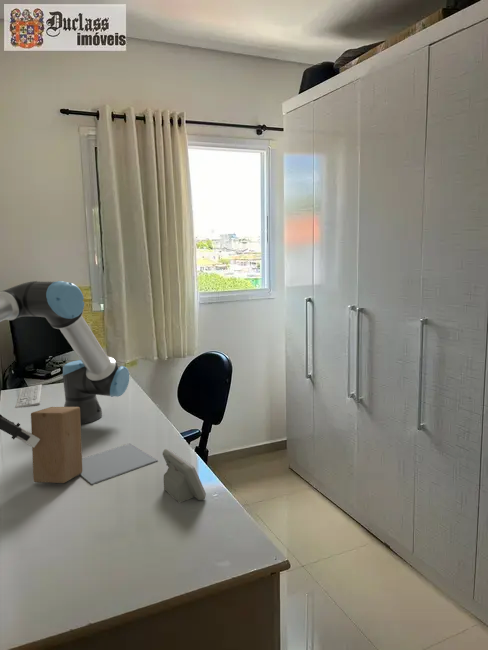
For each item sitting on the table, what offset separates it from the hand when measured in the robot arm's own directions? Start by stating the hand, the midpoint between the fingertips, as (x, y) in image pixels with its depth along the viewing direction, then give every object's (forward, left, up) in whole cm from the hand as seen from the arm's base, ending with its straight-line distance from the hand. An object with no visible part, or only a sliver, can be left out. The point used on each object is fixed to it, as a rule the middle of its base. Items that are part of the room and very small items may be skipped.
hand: (36, 442), depth 138 cm
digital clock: (-29, +30, -14) cm, 44 cm away
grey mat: (-22, 0, -14) cm, 26 cm away
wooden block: (-5, 0, -13) cm, 14 cm away
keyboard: (-26, -90, -14) cm, 94 cm away
